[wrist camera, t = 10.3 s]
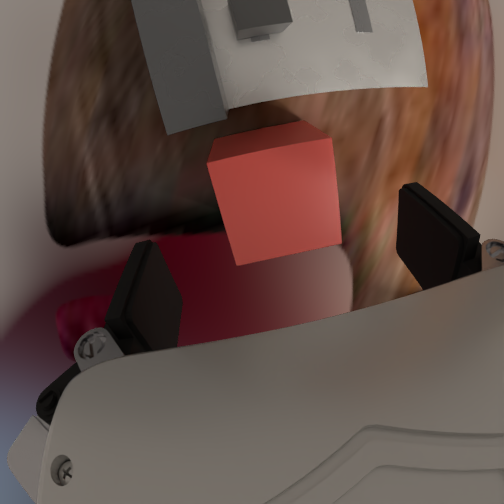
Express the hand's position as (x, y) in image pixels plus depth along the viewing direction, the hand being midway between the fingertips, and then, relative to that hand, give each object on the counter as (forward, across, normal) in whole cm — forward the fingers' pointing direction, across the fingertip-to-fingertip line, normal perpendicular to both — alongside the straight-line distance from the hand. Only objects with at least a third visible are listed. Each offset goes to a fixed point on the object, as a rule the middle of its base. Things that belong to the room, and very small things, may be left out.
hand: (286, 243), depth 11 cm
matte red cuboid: (+10, 0, +1) cm, 10 cm away
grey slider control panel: (+11, -4, -13) cm, 17 cm away
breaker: (+7, -1, -9) cm, 12 cm away
